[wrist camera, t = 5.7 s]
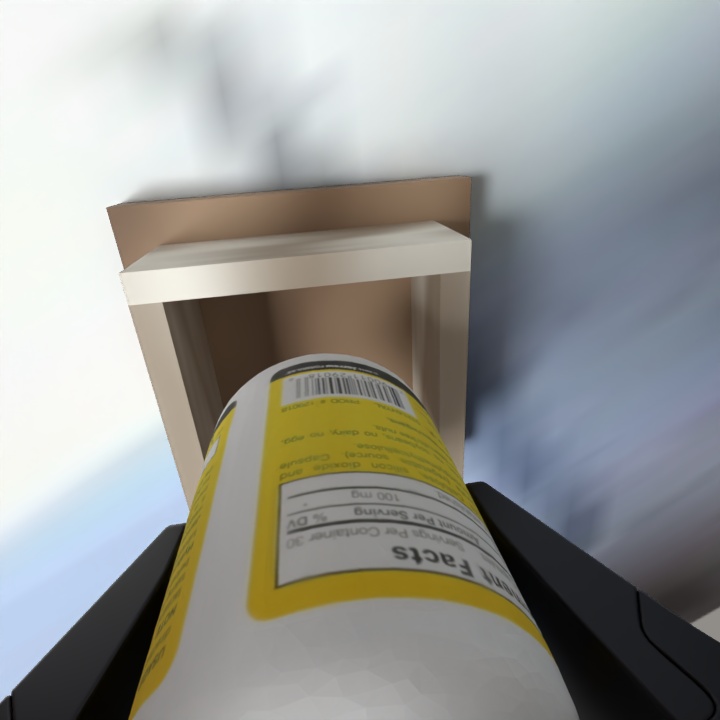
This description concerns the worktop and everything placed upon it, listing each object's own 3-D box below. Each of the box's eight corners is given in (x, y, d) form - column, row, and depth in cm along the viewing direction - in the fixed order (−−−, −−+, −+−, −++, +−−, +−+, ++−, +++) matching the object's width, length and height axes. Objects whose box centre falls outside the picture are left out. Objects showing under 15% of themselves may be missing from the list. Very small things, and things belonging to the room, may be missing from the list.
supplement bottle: (297, 557, 13) (289, 1442, 4) (166, 423, 11) (-488, 1738, 2) (465, 464, 12) (895, 1279, 3) (363, 302, 10) (838, 1429, 1)
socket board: (459, 175, 15) (521, 184, 11) (452, 444, 20) (494, 523, 16) (120, 203, 14) (46, 225, 10) (197, 479, 19) (169, 573, 15)
